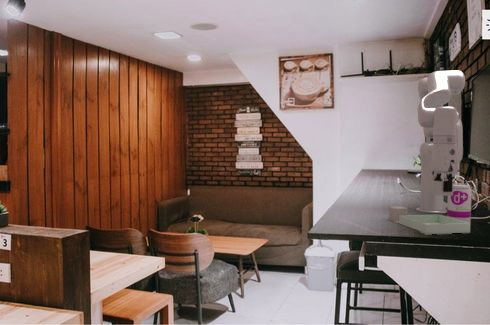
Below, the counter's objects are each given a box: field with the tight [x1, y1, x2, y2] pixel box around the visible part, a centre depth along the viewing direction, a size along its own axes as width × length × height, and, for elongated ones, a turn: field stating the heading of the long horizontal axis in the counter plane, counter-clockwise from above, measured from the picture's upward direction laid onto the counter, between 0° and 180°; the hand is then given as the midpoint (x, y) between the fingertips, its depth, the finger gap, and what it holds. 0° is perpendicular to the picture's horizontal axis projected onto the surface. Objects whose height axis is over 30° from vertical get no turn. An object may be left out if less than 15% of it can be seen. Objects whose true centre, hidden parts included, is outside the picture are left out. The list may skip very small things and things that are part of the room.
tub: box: [398, 213, 471, 236], centre depth 166 cm, size 17×18×4 cm
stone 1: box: [388, 205, 409, 222], centre depth 180 cm, size 5×5×5 cm
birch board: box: [384, 217, 399, 224], centre depth 181 cm, size 15×9×1 cm, turn 101°
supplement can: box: [446, 183, 472, 224], centre depth 175 cm, size 8×8×15 cm
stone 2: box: [432, 179, 454, 197], centre depth 166 cm, size 5×5×5 cm
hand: (442, 190), depth 166 cm, fingers closed on stone 2, 5 cm apart
